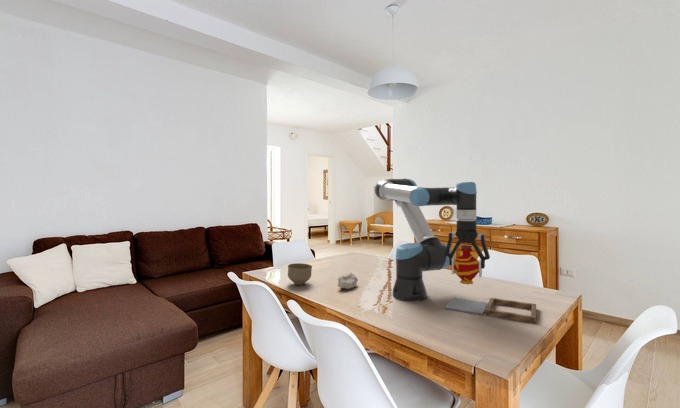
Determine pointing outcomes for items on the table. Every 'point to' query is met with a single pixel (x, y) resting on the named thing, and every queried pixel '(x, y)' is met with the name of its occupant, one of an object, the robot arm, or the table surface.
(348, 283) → the stone
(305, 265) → the bowl
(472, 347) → the table surface
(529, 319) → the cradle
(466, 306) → the coaster
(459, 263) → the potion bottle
